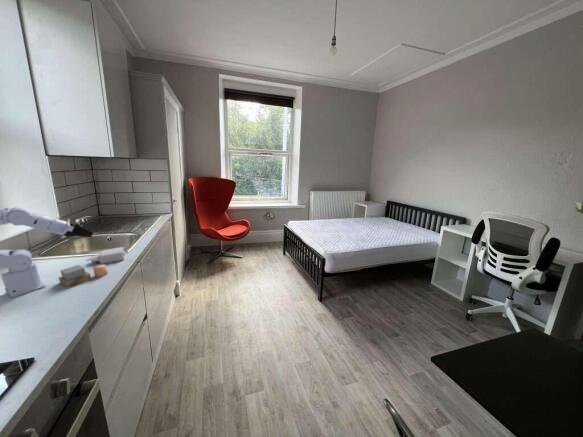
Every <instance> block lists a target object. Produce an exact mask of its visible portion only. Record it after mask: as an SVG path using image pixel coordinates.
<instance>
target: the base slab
mask: <svg viewBox="0 0 583 437" xmlns="http://www.w3.org/2000/svg"><path fill="white" fill-rule="evenodd" d="M85 273H86V275H83V276H80V277H77V278H74V279H71V280H68V281H67V280H66V279H64V278H63V277H62V276H60V277H58V280H59V283H60V285H62V286H63V287H65V288H66V289H69V288H71V287H74V286H78V285H81V284H82V283H83V284H84V283H85V282H89V281H91V280H92V276H91V273H89V272H87V271H85Z"/></svg>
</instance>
